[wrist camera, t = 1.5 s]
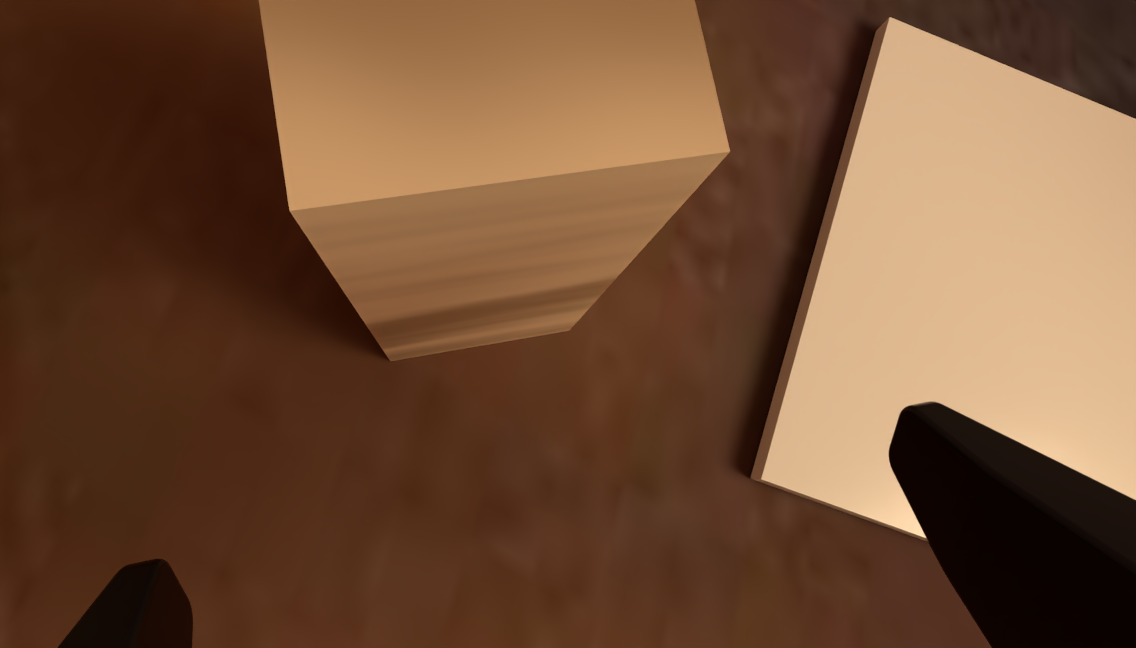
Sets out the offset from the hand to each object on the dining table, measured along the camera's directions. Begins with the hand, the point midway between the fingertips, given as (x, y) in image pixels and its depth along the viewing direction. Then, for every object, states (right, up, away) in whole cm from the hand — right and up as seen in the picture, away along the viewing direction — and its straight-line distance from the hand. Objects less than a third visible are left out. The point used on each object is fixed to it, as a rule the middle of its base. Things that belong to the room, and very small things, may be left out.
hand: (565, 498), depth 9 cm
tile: (+15, +2, +15) cm, 21 cm away
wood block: (-3, +4, +12) cm, 13 cm away
